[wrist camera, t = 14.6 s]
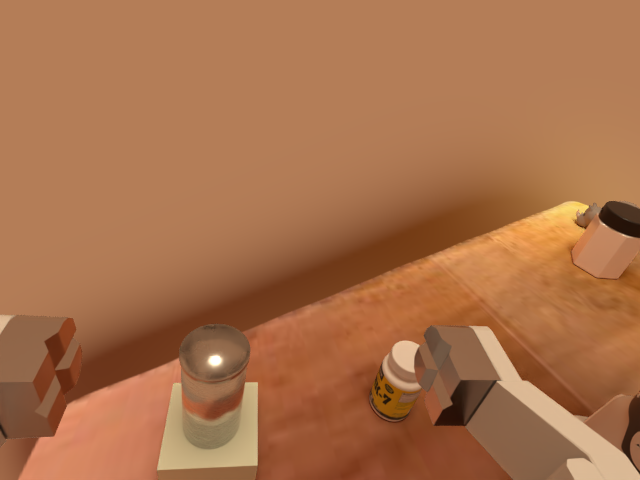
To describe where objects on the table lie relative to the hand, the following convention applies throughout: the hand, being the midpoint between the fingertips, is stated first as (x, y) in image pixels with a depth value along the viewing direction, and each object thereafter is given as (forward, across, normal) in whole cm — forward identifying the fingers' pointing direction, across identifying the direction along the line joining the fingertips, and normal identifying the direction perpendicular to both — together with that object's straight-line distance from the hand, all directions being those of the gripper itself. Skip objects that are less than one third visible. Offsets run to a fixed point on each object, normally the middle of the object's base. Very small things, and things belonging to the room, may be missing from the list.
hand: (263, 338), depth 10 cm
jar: (+46, -66, +32) cm, 87 cm away
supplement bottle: (+18, -17, +32) cm, 41 cm away
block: (+14, +2, +32) cm, 35 cm away
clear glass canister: (+14, +2, +28) cm, 31 cm away
